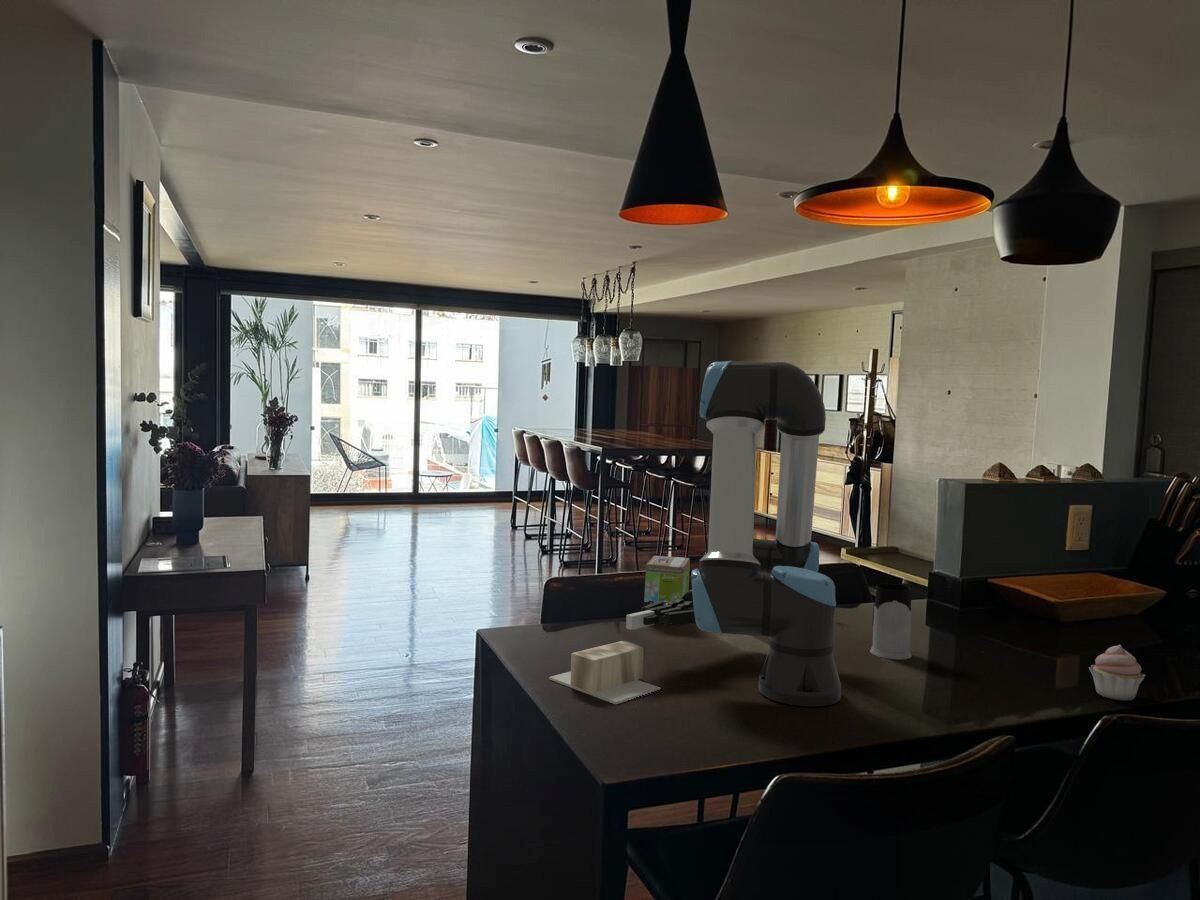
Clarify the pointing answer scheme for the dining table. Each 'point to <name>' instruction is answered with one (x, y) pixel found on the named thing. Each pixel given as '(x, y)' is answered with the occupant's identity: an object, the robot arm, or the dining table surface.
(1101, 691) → the cupcake
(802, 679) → the robot arm
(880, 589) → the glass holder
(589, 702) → the dining table surface
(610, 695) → the mat
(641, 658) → the beech block
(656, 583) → the tea box
